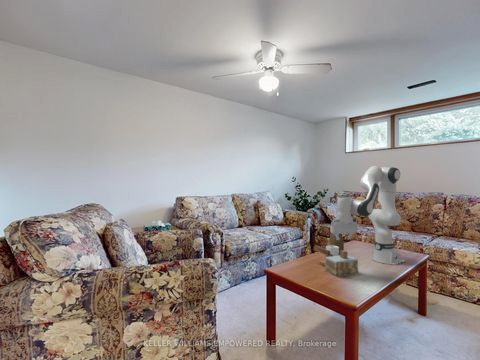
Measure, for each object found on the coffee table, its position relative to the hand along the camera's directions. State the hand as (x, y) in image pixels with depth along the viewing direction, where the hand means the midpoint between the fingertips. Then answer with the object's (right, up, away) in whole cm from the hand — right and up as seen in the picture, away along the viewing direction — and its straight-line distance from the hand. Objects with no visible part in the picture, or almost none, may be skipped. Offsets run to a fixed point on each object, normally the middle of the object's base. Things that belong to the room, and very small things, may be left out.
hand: (343, 239), depth 160 cm
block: (+6, -22, +26) cm, 35 cm away
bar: (-11, -12, +11) cm, 20 cm away
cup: (-1, -22, +17) cm, 27 cm away
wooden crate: (-2, -22, 0) cm, 22 cm away
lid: (-2, -14, -1) cm, 14 cm away
